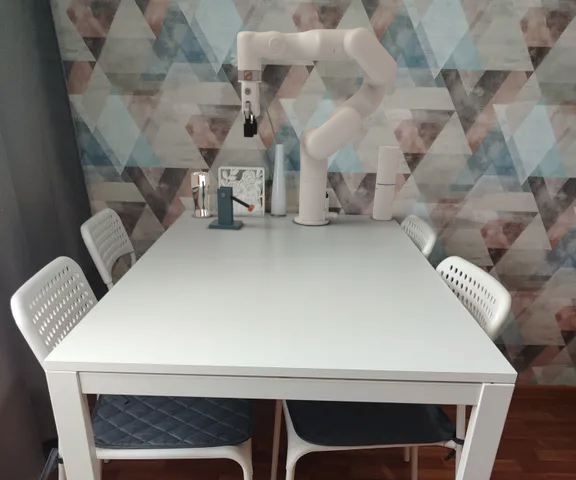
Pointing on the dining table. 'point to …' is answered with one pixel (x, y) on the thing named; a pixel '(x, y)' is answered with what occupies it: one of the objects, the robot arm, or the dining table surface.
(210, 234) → the dining table surface
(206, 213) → the metal tumbler
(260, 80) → the robot arm
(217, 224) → the bracket
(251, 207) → the lever
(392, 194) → the cylindrical container
